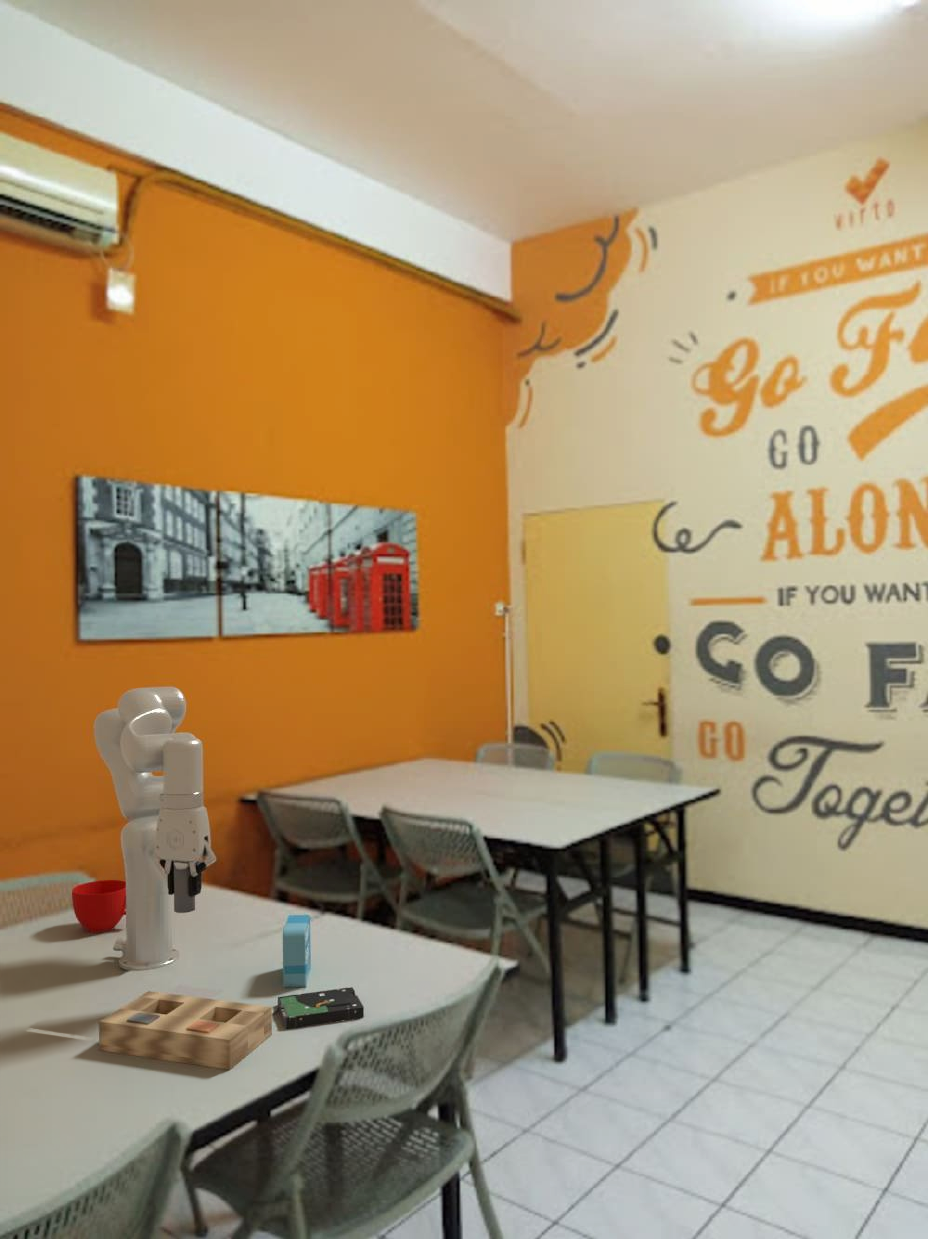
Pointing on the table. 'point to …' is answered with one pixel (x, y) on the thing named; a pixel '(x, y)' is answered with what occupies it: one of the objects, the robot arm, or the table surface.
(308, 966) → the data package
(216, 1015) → the socket block
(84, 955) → the table surface
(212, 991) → the rubber mat
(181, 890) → the plug
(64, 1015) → the table surface
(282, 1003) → the disk drive
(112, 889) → the ceramic cup
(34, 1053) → the table surface
